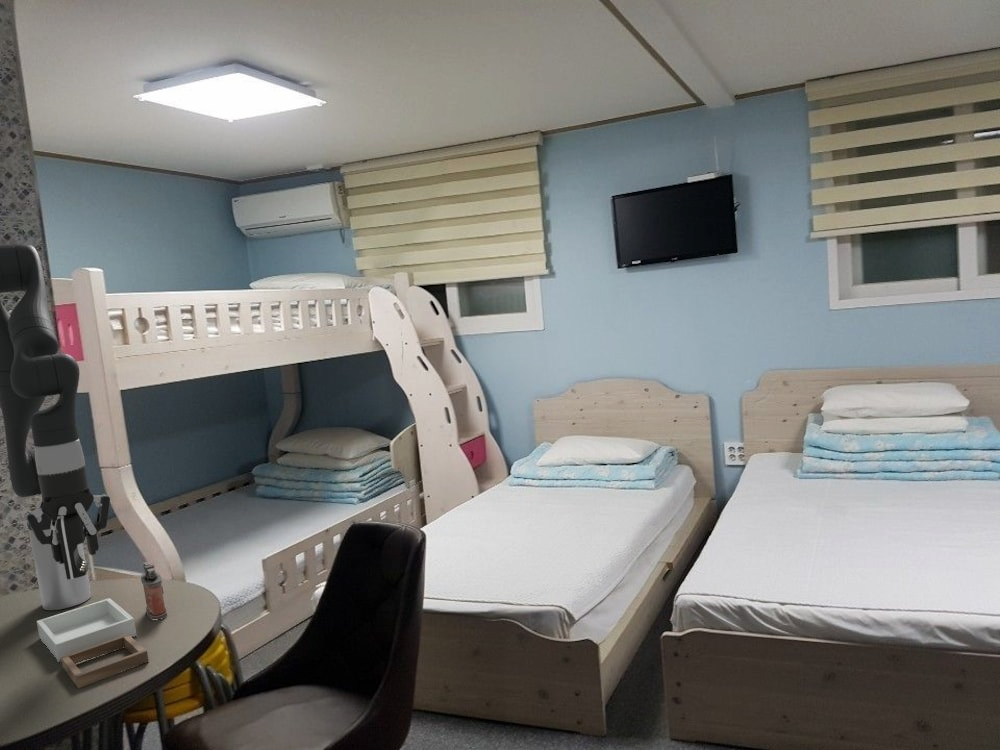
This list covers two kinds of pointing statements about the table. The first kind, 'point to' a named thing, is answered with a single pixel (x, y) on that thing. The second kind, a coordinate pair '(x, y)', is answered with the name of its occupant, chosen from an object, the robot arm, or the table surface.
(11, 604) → the table surface
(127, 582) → the table surface
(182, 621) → the table surface
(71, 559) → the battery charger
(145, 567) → the lighter
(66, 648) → the bin
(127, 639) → the brown flat square frame
